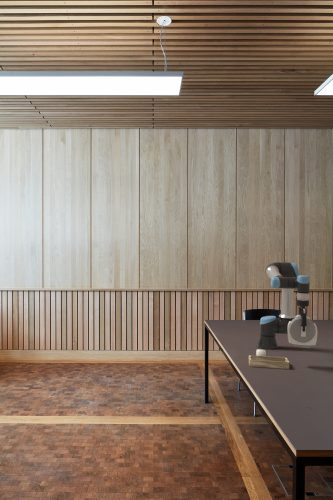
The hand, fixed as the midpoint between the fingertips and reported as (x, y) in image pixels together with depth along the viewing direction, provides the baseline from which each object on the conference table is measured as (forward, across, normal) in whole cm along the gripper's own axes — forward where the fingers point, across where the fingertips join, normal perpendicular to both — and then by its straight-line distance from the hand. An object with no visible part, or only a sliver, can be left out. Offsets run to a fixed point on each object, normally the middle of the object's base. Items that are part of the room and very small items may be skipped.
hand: (302, 334), depth 273 cm
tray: (+19, +5, -21) cm, 29 cm away
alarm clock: (+8, 0, 0) cm, 8 cm away
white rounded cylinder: (+20, -5, -25) cm, 32 cm away
